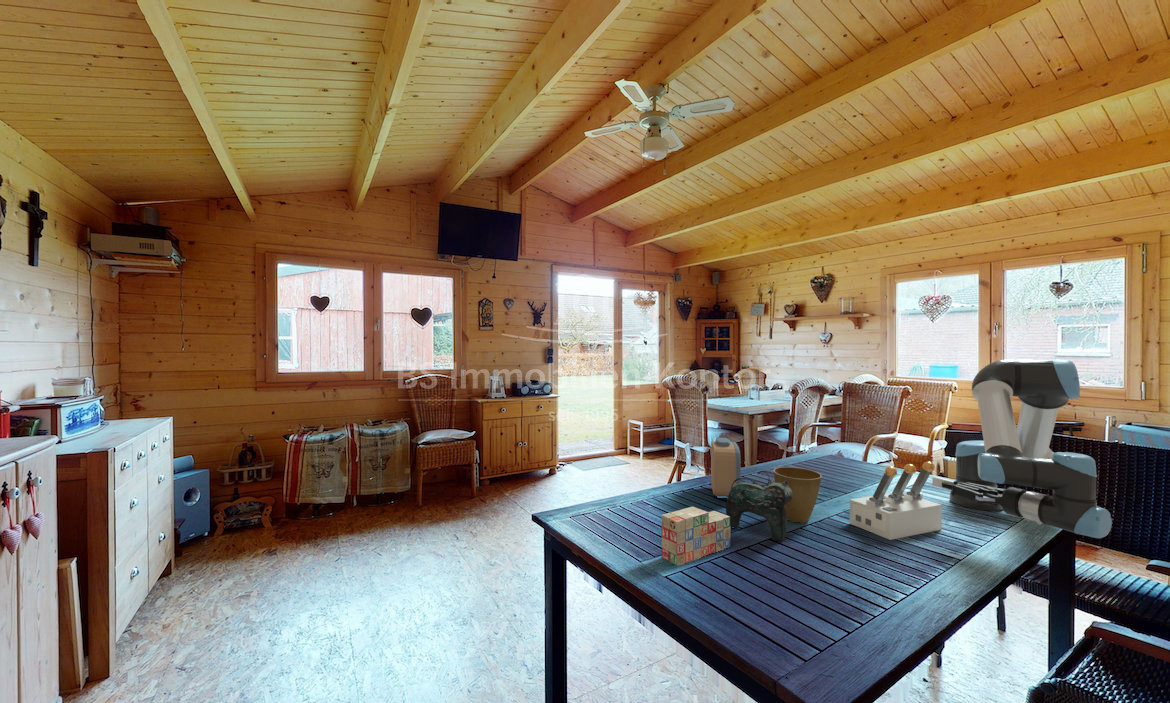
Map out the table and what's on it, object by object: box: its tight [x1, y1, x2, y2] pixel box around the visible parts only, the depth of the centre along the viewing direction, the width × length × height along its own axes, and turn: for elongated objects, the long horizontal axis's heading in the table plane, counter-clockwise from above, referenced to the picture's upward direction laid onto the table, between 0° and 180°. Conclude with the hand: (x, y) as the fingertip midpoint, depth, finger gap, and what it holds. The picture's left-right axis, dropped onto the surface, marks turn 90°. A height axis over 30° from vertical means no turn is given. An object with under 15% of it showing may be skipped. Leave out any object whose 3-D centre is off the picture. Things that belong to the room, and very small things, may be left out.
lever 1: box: [869, 465, 898, 504], centre depth 146 cm, size 3×3×14 cm
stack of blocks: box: [660, 506, 732, 567], centre depth 132 cm, size 21×6×12 cm, turn 123°
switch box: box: [849, 492, 943, 541], centre depth 151 cm, size 24×14×10 cm, turn 110°
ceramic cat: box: [725, 470, 792, 542], centre depth 146 cm, size 20×6×20 cm, turn 47°
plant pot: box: [772, 466, 823, 524], centre depth 158 cm, size 15×15×16 cm
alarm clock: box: [710, 437, 742, 497], centre depth 185 cm, size 21×10×22 cm, turn 168°
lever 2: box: [905, 461, 936, 498], centre depth 152 cm, size 3×3×14 cm
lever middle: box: [888, 463, 917, 501], centre depth 149 cm, size 3×3×14 cm
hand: (934, 481), depth 148 cm, fingers closed
